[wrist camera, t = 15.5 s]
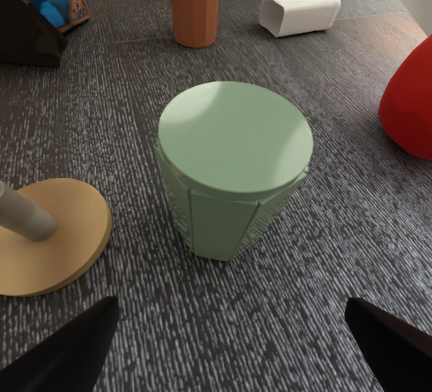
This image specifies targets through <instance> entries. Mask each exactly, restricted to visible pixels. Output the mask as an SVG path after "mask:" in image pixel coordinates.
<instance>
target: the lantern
mask: <svg viewBox="0 0 432 392" xmlns="http://www.w3.org/2000/svg"><path fill="white" fill-rule="evenodd" d="M89 18H91V15H90V13H89V10H88V7H87V4H86V1H85V0H0V62H4V63H15V64H34V65H44V66H52V67H59V66H60V63H59V61H60V59H61V56H62V52H63V51H64V50H65V49H66V46H67V43H68V41H67V40H66V38H65V37H64V36H63V35H62V34H63V33H66V32H67V31H69V30H70V29H72V28H74V27H75V26H77V25H80V24H81V23H82V22H85V21H87V20H88V19H89Z"/></svg>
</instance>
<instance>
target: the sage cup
mask: <svg viewBox="0 0 432 392" xmlns="http://www.w3.org/2000/svg"><path fill="white" fill-rule="evenodd" d="M155 147H156V148H155V149H156V153H157V157H158V161H159V165H160V169H161V173H162V176H163V180H164V184H165V188H166V192H167V196H168V199H169V203H170V207H171V211H172V215H173V219H174V222H175V226H176V229H177V230H178V232H179V234H180V235H181V237H182V238H183V240H184V241H185V243H186V245H187V246H188V248H189V249H190V251H191V252H192V254H194V253H195V256H200V257H205V258H210V259H216V260H221V261H226V262H228V261H229V260H230V261H232V260H233V259H235V258H236V257H237V256H239V255H240V254H242V253H243V252H244V251H246V250H247V249H248V248H250V247H251V246H253V245H254V244H255V243H256V242H257V241H258V240H259V238H260V237H261V236H262V234H263V233H264V232H265V230H266V229H267V228H268V226H269V225H270V224H271V222H272V221H273V220H274V218H275V217H276V216H277V214H278V213H279V212H280V210H281V209H282V208H283V206H284V205H285V204H286V202H287V201H288V200H289V198H290V197H291V196H292V195H293V193H294V192H295V191H296V189H297V188H298V187H299V185H300V184H301V183H302V181H303V180H304V179H305V177H306V176H307V173H308V163H309V161H310V159H311V156H312V151H313V137H312V132H311V129H310V126H309V124H308V123H307V121H306V119H305V118H304V116H303V115H302V113H301V112H300V111H299V110H298V109H297V108H296V107H295V106H294V105H293V104H291V103H290V102H289V101H288V100H286V99H285V98H283V97H282V96H280V95H278V94H276V93H274V92H272V91H270V90H268V89H265V88H263V87H260V86H256V85H253V84H248V83H242V82H233V81H219V82H210V83H205V84H201V85H197V86H194V87H192V88H189V89H187V90H185V91H183V92H182V93H180V94H179V95H177V96H176V97H175V98H173V99H172V100H171V101H170V102H169V103H168V105H167V106H166V107H165V109H164V110H163V112H162V114H161V117H160V120H159V124H158V138H157V141H156V143H155Z"/></svg>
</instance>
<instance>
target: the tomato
mask: <svg viewBox="0 0 432 392" xmlns="http://www.w3.org/2000/svg"><path fill="white" fill-rule="evenodd" d="M378 115H379V119H380V122H381V124H382V126H383V129H384V131H385V133H386V134H387V135H388V136H389V137H390V138H391V139H392V140H394V141H395V142H396V143H397V144H398V145H399V146H400V147H401V148H403V149H404V150H405V151H406V152H407V153H408V154H411V155H414V156H416V157H419V158H422V159H429V160H432V35H430V36H429V37H428V38H427V39H426V40H424V41H423V42H422V43H421V44H420V45H419V46H417V47H416V48H415V49H414V50H413V51H412V52H411V53H410V55H409V56H408V57H407V58H406V59H405V61H404V62H403V63H402V64H401V66H400V67H399V68H398V70H397V71H396V73H395V74H394V75H393V77H392V78H391V79H390V81H389V83H388V85H387V87H386V90H385V92H384V94H383V96H382V99H381V102H380V106H379V112H378Z"/></svg>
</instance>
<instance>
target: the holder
mask: <svg viewBox="0 0 432 392" xmlns="http://www.w3.org/2000/svg"><path fill="white" fill-rule="evenodd" d="M111 228H112V215H111V211H110V208H109V206H108V203H107V202H106V200H105V199H104V198H103V196H102V195H101V194H100V193H99V192H98V191H97V190H96V189H95V188H94V187H92V186H91V185H89V184H87V183H85V182H82V181H79V180H75V179H68V178H56V179H48V180H43V181H40V182H36V183H33V184H31V185H28V186H25V187H23V188H21V189H19V190H17V191H15V190H14V189H12V188H11V187H10V186H8V185H7V184H5V183H4V182H2V181H1V180H0V294H2V295H7V296H16V297H32V296H38V295H43V294H47V293H50V292H53V291H55V290H58V289H60V288H62V287H64V286H66V285H68V284H69V283H71V282H73V281H74V280H76V279H77V278H79V277H80V276H81V275H82V274H83V273H85V272H86V271H87V270H88V269H89V268H90V267H91V266H92V265H93V264H94V263H95V261H96V260H97V259H98V258H99V256H100V255H101V253H102V252H103V250H104V248H105V246H106V244H107V242H108V240H109V237H110V233H111Z"/></svg>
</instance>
